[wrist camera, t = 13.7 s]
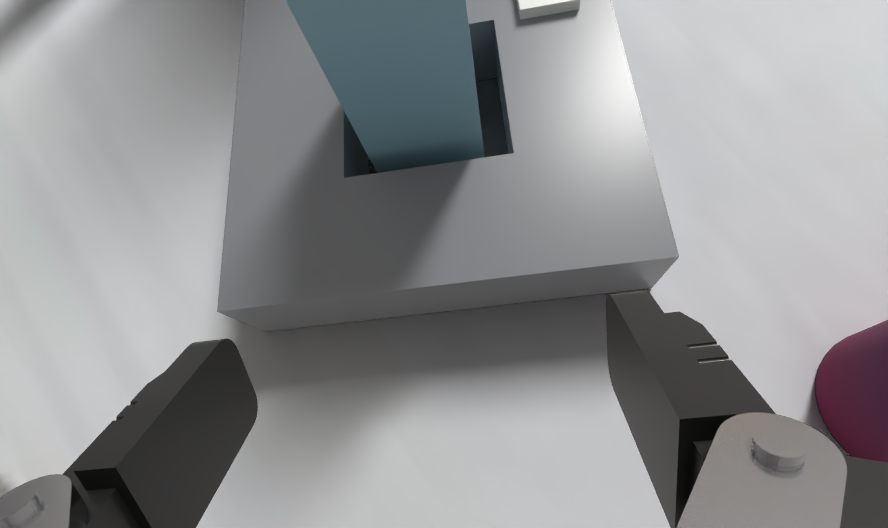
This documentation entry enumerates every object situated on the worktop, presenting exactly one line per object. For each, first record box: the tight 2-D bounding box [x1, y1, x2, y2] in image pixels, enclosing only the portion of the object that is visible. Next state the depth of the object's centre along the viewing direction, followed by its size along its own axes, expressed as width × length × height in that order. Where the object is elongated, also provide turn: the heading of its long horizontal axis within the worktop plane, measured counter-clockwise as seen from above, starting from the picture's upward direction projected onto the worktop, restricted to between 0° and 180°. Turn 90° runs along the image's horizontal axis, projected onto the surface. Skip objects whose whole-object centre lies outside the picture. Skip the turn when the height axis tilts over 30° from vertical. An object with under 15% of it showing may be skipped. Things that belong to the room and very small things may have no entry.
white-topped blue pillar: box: [286, 0, 485, 173], centre depth 17 cm, size 4×4×12 cm
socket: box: [217, 0, 679, 332], centre depth 21 cm, size 16×16×4 cm
